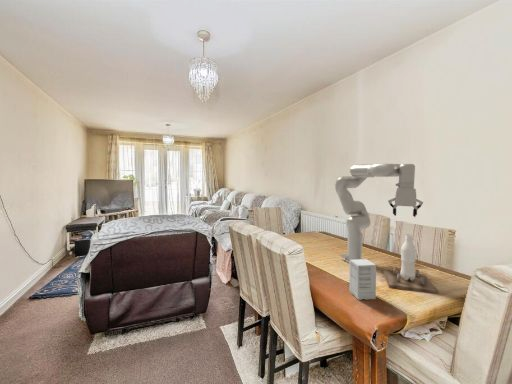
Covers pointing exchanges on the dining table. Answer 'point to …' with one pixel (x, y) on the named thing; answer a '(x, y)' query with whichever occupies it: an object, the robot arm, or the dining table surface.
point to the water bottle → (408, 259)
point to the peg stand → (409, 282)
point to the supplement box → (362, 279)
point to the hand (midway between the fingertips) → (404, 215)
